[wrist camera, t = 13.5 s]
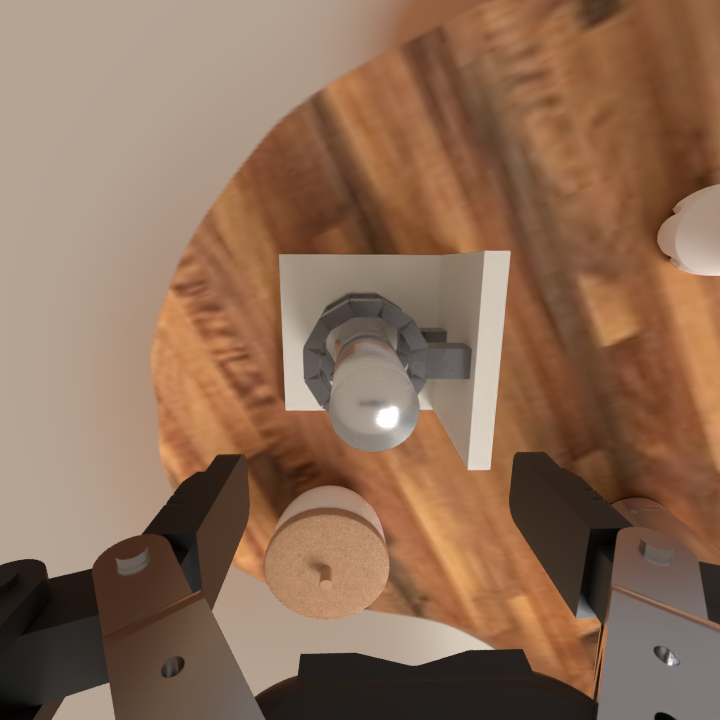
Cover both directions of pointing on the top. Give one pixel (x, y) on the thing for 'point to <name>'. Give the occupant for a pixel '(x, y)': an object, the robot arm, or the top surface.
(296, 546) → the lidded jar
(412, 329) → the collars
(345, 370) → the steel tube
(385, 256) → the tube holder
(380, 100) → the top surface
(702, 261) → the water bottle
